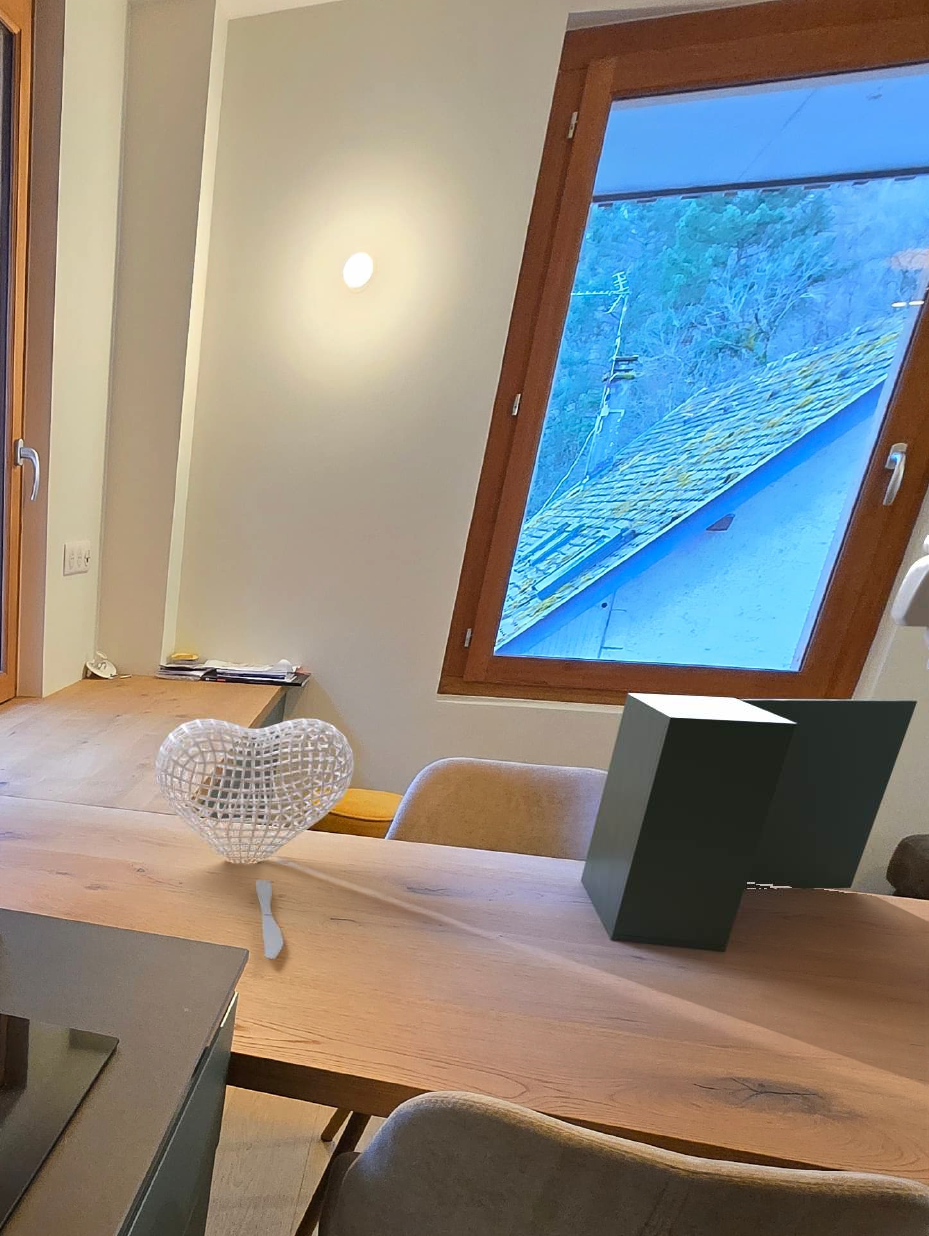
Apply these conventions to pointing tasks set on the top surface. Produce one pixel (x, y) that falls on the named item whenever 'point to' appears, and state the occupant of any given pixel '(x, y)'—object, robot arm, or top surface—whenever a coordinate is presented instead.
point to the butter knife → (268, 921)
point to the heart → (253, 780)
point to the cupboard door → (828, 789)
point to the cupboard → (683, 817)
